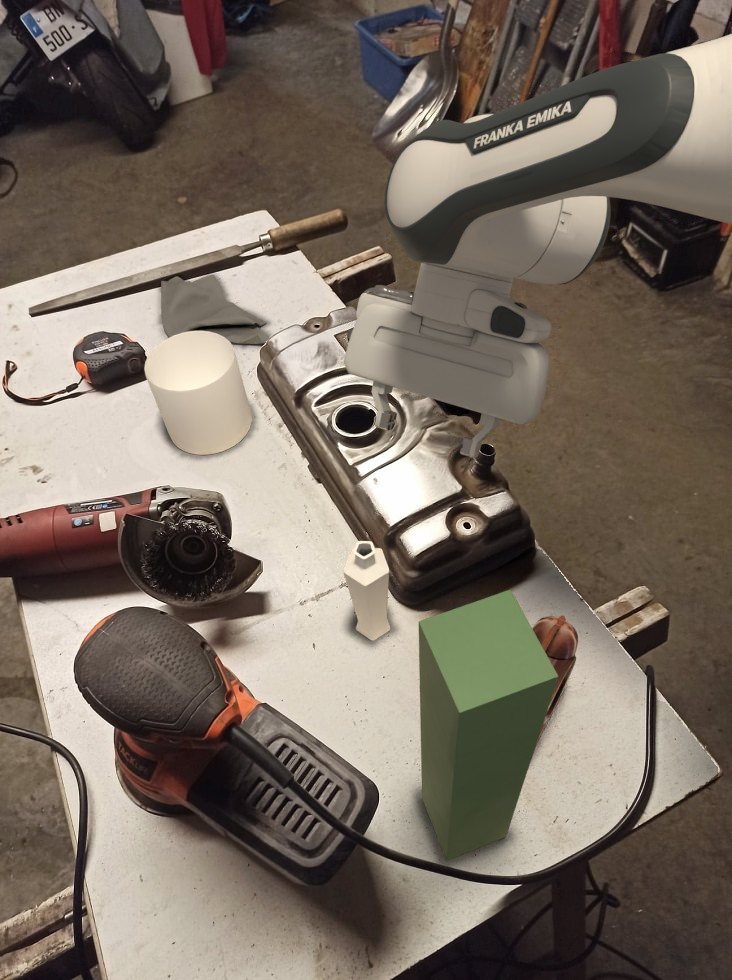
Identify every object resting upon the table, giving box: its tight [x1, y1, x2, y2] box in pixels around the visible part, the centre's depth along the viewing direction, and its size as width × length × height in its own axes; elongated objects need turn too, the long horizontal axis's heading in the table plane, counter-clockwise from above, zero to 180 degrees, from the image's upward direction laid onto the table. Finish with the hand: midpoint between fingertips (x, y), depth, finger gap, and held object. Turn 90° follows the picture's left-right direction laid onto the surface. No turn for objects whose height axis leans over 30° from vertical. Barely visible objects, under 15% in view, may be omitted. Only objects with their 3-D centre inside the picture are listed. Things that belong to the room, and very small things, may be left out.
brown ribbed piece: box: [532, 614, 579, 740], centre depth 70 cm, size 11×5×15 cm, turn 147°
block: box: [418, 589, 558, 862], centre depth 56 cm, size 6×6×35 cm
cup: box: [143, 331, 253, 456], centre depth 99 cm, size 12×12×12 cm
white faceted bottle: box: [342, 540, 391, 642], centre depth 77 cm, size 5×4×15 cm
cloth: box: [160, 274, 270, 345], centre depth 118 cm, size 26×14×2 cm, turn 36°
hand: (425, 441), depth 75 cm, fingers open, 8 cm apart
